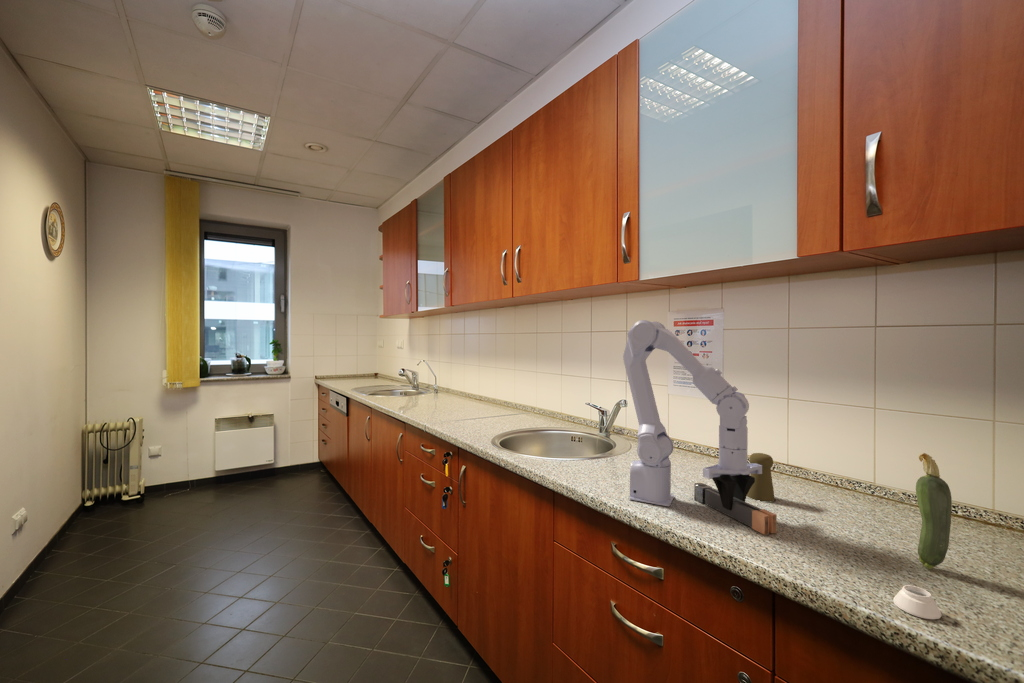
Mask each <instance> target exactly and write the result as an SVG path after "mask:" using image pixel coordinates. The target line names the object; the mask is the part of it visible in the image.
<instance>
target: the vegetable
mask: <svg viewBox="0 0 1024 683" xmlns="http://www.w3.org/2000/svg"><path fill="white" fill-rule="evenodd" d="M918 459H919V462H922V466H923V471H924V473H925V475H923V476H920V477H919V478H918V479H917V481H916V484H915V493H916V500H917V504H918V509H919V512H920V515H921V529H920V535H919V540H918V548H917V555H918V560H919V562H920V563H921V564H922V565H923V566H924V567H925V568H926V569H928V570H932V569H934V568H935V567H937V566H940V565H941V564H942V563H943V562H944V561H945V558H946V555H947V553H948V550H949V546H950V536H951V535H950V534H951V526H952V524H951V523H952V512H953V511H952V509H953V508H952V507H953V506H952V492H951V489H950V486H949V485H948V483H947V482H946V481H945V480H944V479H943V478H941V475H940V469H939V466H938V464H937V463H936V460H935V459H933V457H932V456H931V455H929V454H928V453H925V452H923V453H921V454H919V456H918Z"/></svg>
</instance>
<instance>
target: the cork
mask: <svg viewBox="0 0 1024 683" xmlns="http://www.w3.org/2000/svg"><path fill="white" fill-rule="evenodd" d="M748 459H749V464H751V463H756V464H759V465H762V474H757V473H755V474H750V476H752V477H754V478H755V482H754V484H753V485H752V486H751V488H750V490H749V492H748V494H747V498H749V499H751V498H752V499H751V500H753V499H755V500H754V501H757V500H760V501H759V502H762V501H773V500H774V501H775V491H774V484H773V478H772V477H773V476H772V469H771V468H772V467H773V465H774V459H773V458H772V456H771V455H769V454H767V453H762V452H753V453H751V454H750V456H749V458H748ZM774 501H773V502H774Z"/></svg>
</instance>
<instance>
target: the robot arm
mask: <svg viewBox="0 0 1024 683" xmlns="http://www.w3.org/2000/svg"><path fill="white" fill-rule="evenodd" d="M626 334H627V341H626V344H625V347H624V350H623V351H624V352H623V356H622V357H623V358H622V359H623V363H624V364H623V365H624V367H625V372H626V376H627V381H628V384H629V389H630V392H631V397H632V400H633V404H634V409H635V413H636V418H637V422H638V430H637V434H636V435H637V436H636V437H637V442H638V443H637V449H636V453H637V456H638V458H639V460H636V459H635V460H632V462H631V464H630V469H629V496H628V499H629V500H630V501H636V502H641V503H648V504H653V505H657V506H662V507H663V506H664V507H670V506H671V504H672V503H673V500H674V498H675V495H674V494H672V493H671V492H672V491H671V487H672V486H671V483H672V478H671V477H672V462H671V460H670V456H671V454H672V453H673V451H674V443H673V440H672V439H671V437H670V436H669V435H668V433H667V429H666V427H665V425H664V424H663V422H661V418H660V415H659V411H658V410H659V409H658V406H657V402H656V398H655V394H654V390H653V386H652V382H651V378H650V374H649V370H648V366H647V362H646V360H647V359H648V358H649V356H650V355H651V354H652V352H653V351H654V350H655V349H657V350H662V351H665V352H668V353H669V355H671V356H672V357H673V358H674V359H675V360H676V361H677V362H678V363H679V364H680V365H681V366H682V367H684V368H685V370H686V371H688V372H689V373H690V375H692V384H693V385H694V387H696V388H697V390H699V392H701V394H702V395H704V396H705V397H706V398H707V400H709V402H710V403H711V404H713V405H715V407H716V408H715V409H716V413H717V414H718V415H719V425H718V464H715V465H710V466H707V467H702V477H704V478H706V479H708V480H710V479H711V480H712V481H713V483H714V485H715V486H716V490H718V491H719V494H720V498H721V502H722V506H723V507H724V508H726V509H728V510H732V505H733V497H735V498H737V499H739V500H742V501H744V502H746V499H747V498H748V496H747V494H748V492H749V490H750V488H751V486H752V485H753V484H754V482H755V478H754V477H752V476H750V475H751V474H755V473H757V474H762V465H759V464H756V463H751V464H750V463H748V445H749V444H748V442H749V440H748V439H749V438H748V433H749V432H748V425H747V424H748V420H747V418H748V417H747V415H746V414H747V413H748V412H749V409H750V403H749V401H748V399H747V397H746V396H745V394H744V393H742V392H739V391H738V388H737V387H736V386H732V385H731V384H730V383H729V382H728V381H727V380H726V379H725V378H724V377H723V376H722V374H723V372H722V371H721V370H720V368H716V369H715V368H714V367H713V366H706V365H703V364H702V363H701V362H700V361H699V360H698V358H697V357H695V355H694V354H693V353H692V352H691V351H690V350H689V349H688V348H687V347H686V346H685V345H684V343H683V342H682V341H681V340H680V339H679V338H678V337H677V336H676V335H675V333H673V332H672V331H671V330H670V329H668V328H666V327H665V326H664V324H662V322H659V321H649V320H647V319H641V320H638V321H636V322H634V324H633V325H632V326H631V328H630V329H629V330H628V331H627V333H626Z"/></svg>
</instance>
